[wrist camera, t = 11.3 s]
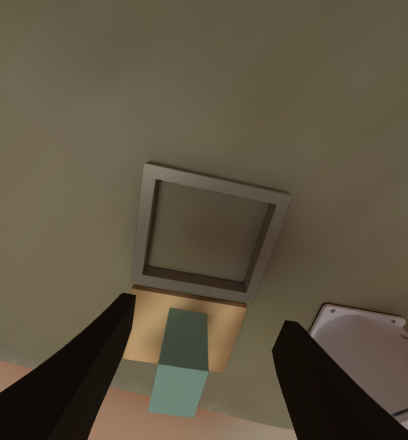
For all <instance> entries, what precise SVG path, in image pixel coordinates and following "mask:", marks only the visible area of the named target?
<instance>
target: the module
mask: <svg viewBox="0 0 408 440" xmlns="http://www.w3.org/2000/svg"><path fill="white" fill-rule="evenodd" d="M208 373H209V361H208V327H207V314H205V313H200V312H194V311H188V310H182V309H176V308H169V313H168V317H167V322H166V327H165V332H164V336H163V341H162V346H161V351H160V356H159V361H158V366H157V371H156V376H155V381H154V385H153V390H152V395H151V400H150V405H149V410H148V412H151V413H159V414H167V415H175V416H183V417H190V418H194V415H195V412H196V409H197V406H198V403H199V400H200V397H201V394H202V391H203V388H204V385H205V382H206V379H207V376H208Z"/></svg>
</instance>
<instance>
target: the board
mask: <svg viewBox="0 0 408 440" xmlns="http://www.w3.org/2000/svg"><path fill="white" fill-rule="evenodd" d="M131 294H133V295H136V303H135V310H134V318H133V325H132V330H131V333H130V337H129V340H128V343H127V346H126V349H125V352H124V356H123V359H129V360H136V361H143V362H150V363H157V364H158V361H159V356H160V351H161V346H162V341H163V336H164V332H165V327H166V322H167V317H168V313H169V308H176V309H182V310H188V311H194V312H200V313H205V314H207V327H208V361H209V371H213V372H220V373H224V371H225V368H226V366H227V363H228V360H229V357H230V354H231V352H232V349H233V346H234V343H235V341H236V338H237V335H238V332H239V329H240V327H241V324H242V321H243V318H244V315H245V313H246V310H247V306H246V304H243V303H237V302H231V301H225V300H219V299H213V298H208V297H202V296H196V295H190V294H184V293H178V292H173V291H167V290H161V289H155V288H149V287H144V286H138V285H133V287H132V291H131Z"/></svg>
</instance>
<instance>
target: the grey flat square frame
mask: <svg viewBox="0 0 408 440" xmlns="http://www.w3.org/2000/svg"><path fill="white" fill-rule="evenodd" d="M159 180H163V181H168V182H172V183H177V184H182V185H186V186H191V187H196V188H200V189H205V190H210V191H214V192H219V193H224V194H229V195H233V196H238V197H243V198H247V199H252V200H257V201H261V202H266V203H270V205H269V208H268V211H267V214H266V217H265V220H264V223H263V226H262V229H261V232H260V235H259V238H258V241H257V244H256V247H255V250H254V253H253V256H252V259H251V262H250V265H249V268H248V271H247V274H246V277H245V280H244V283H239V282H233V281H228V280H222V279H216V278H211V277H205V276H200V275H194V274H189V273H183V272H177V271H172V270H166V269H161V268H155V267H150V266H146V264H147V257H148V250H149V243H150V236H151V229H152V222H153V216H154V209H155V202H156V195H157V188H158V181H159ZM291 199H292V195H291V194H289V193H287V192H285V191H280V190H276V189H271V188H267V187H262V186H258V185H253V184H248V183H244V182H239V181H235V180H230V179H226V178H221V177H217V176H212V175H207V174H203V173H198V172H194V171H189V170H185V169H180V168H176V167H171V166H166V165H162V164H157V163H153V162H146V163H144V169H143V178H142V186H141V195H140V203H139V212H138V220H137V229H136V237H135V246H134V254H133V263H132V272H131V280H130V282H134V283H140V284H146V285H152V286H158V287H163V288H169V289H175V290H181V291H187V292H192V293H198V294H204V295H210V296H216V297H221V298H227V299H233V300H239V301H245V302H250V303H253V302H254V300H255V297H256V294H257V291H258V289H259V286H260V283H261V280H262V278H263V275H264V272H265V270H266V267H267V264H268V261H269V259H270V256H271V253H272V250H273V248H274V245H275V242H276V240H277V237H278V234H279V231H280V229H281V226H282V223H283V221H284V218H285V215H286V212H287V210H288V207H289V204H290V201H291Z"/></svg>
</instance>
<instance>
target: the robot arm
mask: <svg viewBox="0 0 408 440" xmlns="http://www.w3.org/2000/svg"><path fill="white" fill-rule="evenodd" d="M135 303H136V295H133V294H127V293H122V294H120V295H119V297H118V298H117V299H116V300H115V301H114V302H113V303H112V304H111V305H110V306H109V307H108V308H107V309H106V310H105V311H104V312H103V313H102V314H101V315H100V316H99V317H97V318H96V319H95V320H94V321H93V322H92V323H91V324H90V325H89V326H88V327H87V328H85V329H84V330H83V331H82V332H81V333H80V334H78V335H77V336H76V337H75V338H74V339H72V340H71V341H70V342H69V343H68V344H66V345H65V346H64V347H63V348H62V349H60V350H59V351H58V352H56V353H55V354H54V355H53V356H51V357H50V358H49V359H47V360H46V361H45V362H43V363H42V364H41V365H39V366H38V367H37V368H35V369H34V370H32V371H31V372H30V373H28V374H27V375H25V376H24V377H22V378H21V379H20V380H18V381H17V382H15V383H14V384H12V385H11V386H9V387H8V388H6V389H5V390H4V391H2V392H0V440H87V439H88V436H89V434H90V431H91V428H92V426H93V423H94V421H95V418H96V416H97V413H98V411H99V409H100V406H101V404H102V402H103V400H104V397H105V395H106V393H107V391H108V388H109V386H110V384H111V381H112V379H113V377H114V375H115V372H116V370H117V368H118V366H119V363H120V361H121V359H122V356H123V354H124V352H125V349H126V346H127V343H128V340H129V337H130V333H131V330H132V325H133V318H134V310H135ZM405 323H406V321H405V319H403V318H402V317H398V316H393V315H387V314H381V313H376V312H370V311H364V310H359V309H353V308H348V307H342V306H336V305H331V304H325V305H324V306H323V307H322V309H321V311H320V313H319V315H318V317H317V319H316V321H315V323H314V325H313V326H312V328H311V330H310V332H309V333H308V332H307V331H306V330H305V329H304V328H303V327H302V326H301V325H300V324H299V323H298V322H294V321H288V320H285V322H284V324H283V327H282V329H281V331H280V333H279V336H278V338H277V340H276V342H275V345H274V347H273V349H272V354H273V359H274V364H275V369H276V373H277V377H278V380H279V384H280V387H281V390H282V393H283V396H284V399H285V402H286V405H287V408H288V412H289V415H290V418H291V421H292V424H293V427H294V430H295V433H296V436H297V440H408V332H407V331H405V330H404V329H403V328H402V327H403V326H404V325H405Z"/></svg>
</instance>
